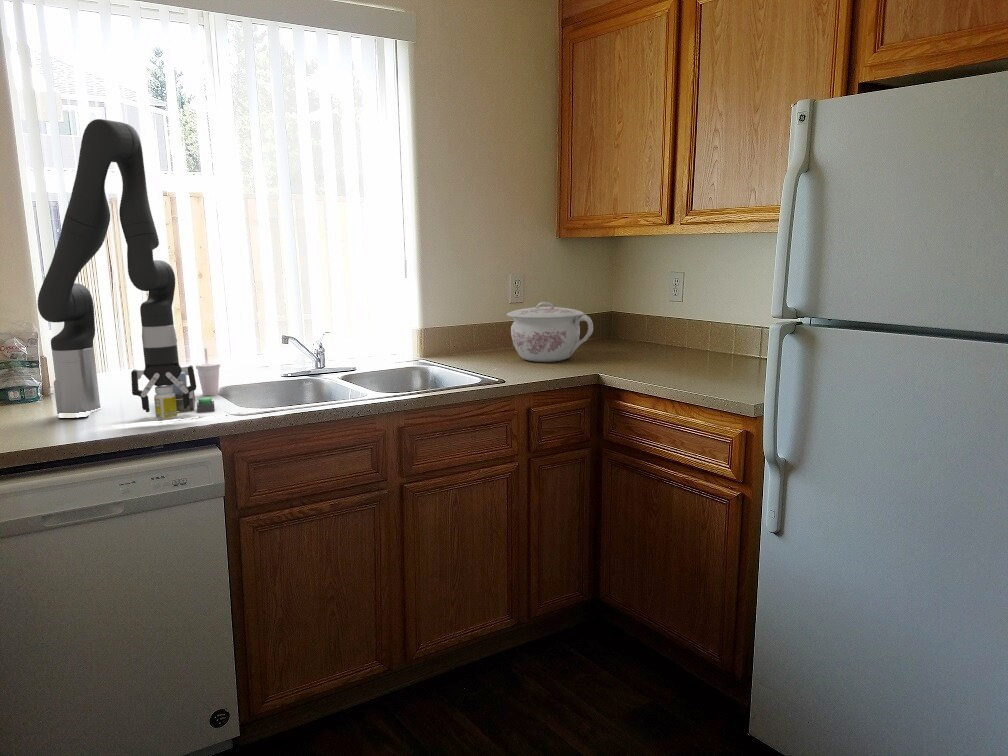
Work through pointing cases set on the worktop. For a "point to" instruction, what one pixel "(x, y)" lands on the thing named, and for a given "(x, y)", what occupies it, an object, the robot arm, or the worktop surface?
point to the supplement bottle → (165, 401)
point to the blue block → (183, 379)
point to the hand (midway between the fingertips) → (167, 409)
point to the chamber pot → (547, 332)
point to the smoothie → (208, 376)
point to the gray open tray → (181, 405)
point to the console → (205, 407)
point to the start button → (205, 400)
